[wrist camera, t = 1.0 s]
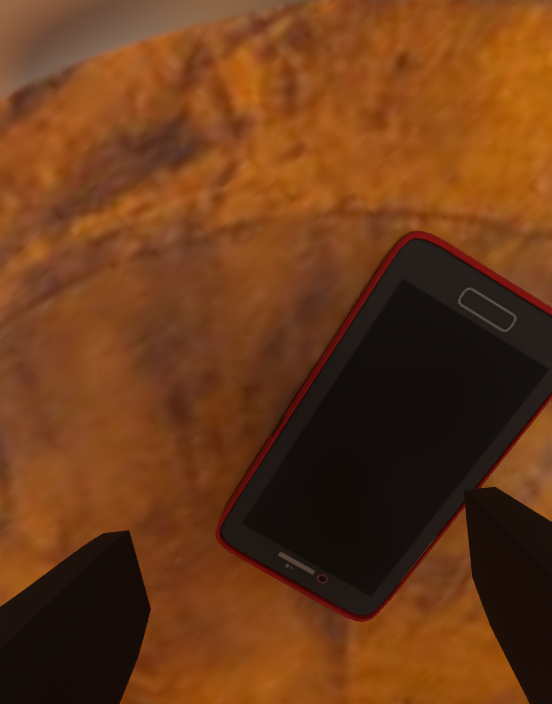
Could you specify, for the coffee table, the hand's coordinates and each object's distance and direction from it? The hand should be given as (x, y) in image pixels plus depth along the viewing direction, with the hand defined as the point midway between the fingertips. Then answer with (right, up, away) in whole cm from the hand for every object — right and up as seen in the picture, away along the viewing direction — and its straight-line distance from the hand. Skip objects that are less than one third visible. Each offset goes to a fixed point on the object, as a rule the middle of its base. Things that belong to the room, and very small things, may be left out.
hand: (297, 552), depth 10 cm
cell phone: (+4, +1, +9) cm, 10 cm away
